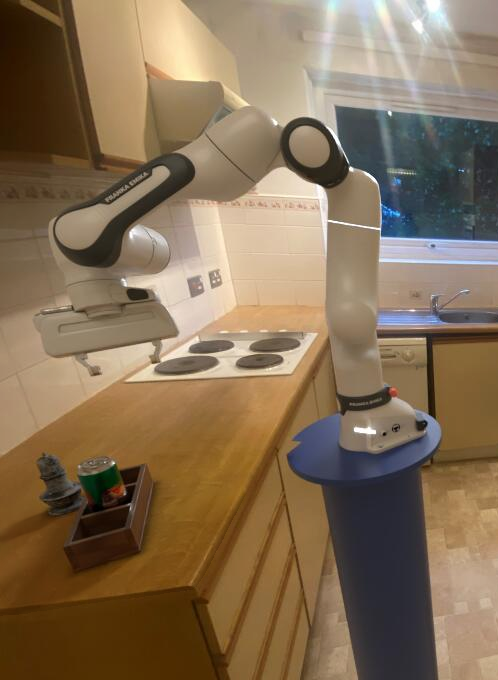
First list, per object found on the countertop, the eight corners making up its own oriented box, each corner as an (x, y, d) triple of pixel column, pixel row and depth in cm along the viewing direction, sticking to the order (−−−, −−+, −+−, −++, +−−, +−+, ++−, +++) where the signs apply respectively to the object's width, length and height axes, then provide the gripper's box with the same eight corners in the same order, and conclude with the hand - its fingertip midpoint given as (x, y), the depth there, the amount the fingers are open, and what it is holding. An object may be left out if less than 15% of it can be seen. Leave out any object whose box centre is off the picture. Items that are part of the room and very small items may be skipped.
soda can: (115, 529, 76) (90, 472, 71) (91, 526, 77) (65, 469, 72) (143, 511, 81) (121, 456, 76) (120, 508, 81) (97, 453, 77)
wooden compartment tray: (153, 483, 90) (146, 462, 88) (140, 552, 72) (130, 528, 70) (102, 496, 86) (93, 475, 84) (74, 572, 68) (62, 547, 66)
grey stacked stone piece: (80, 493, 87) (56, 441, 82) (95, 501, 84) (71, 448, 80) (40, 510, 82) (13, 455, 77) (55, 520, 79) (27, 464, 75)
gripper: (21, 307, 76) (50, 382, 78) (163, 288, 87) (186, 355, 88) (36, 314, 82) (63, 384, 83) (168, 295, 92) (190, 358, 94)
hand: (127, 369), depth 86 cm, fingers open, 8 cm apart
